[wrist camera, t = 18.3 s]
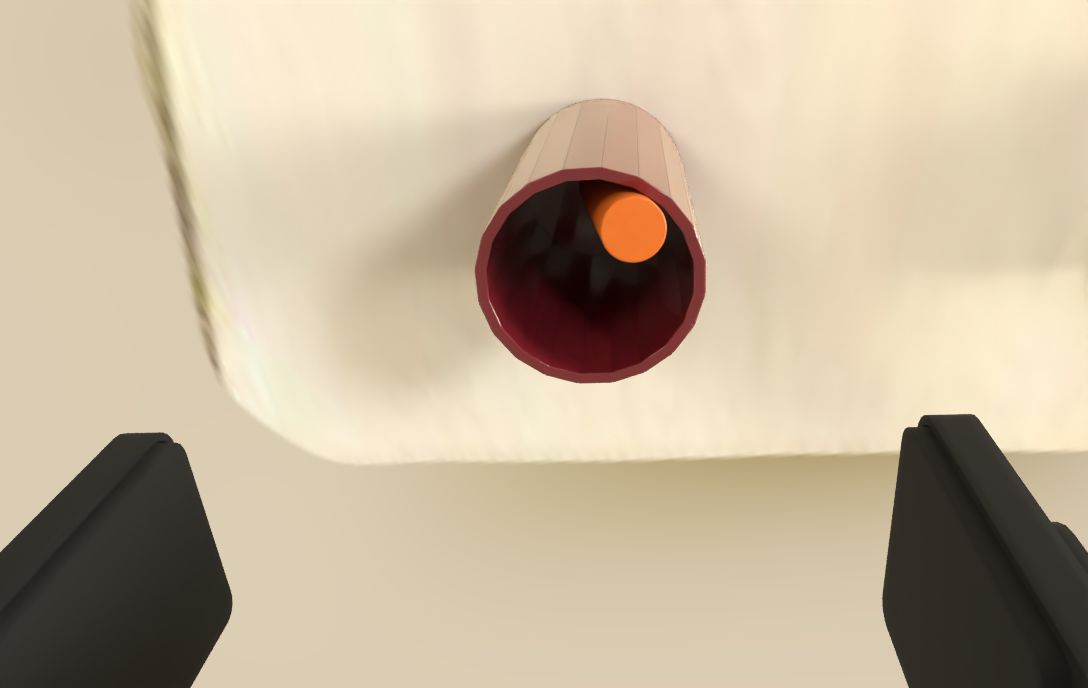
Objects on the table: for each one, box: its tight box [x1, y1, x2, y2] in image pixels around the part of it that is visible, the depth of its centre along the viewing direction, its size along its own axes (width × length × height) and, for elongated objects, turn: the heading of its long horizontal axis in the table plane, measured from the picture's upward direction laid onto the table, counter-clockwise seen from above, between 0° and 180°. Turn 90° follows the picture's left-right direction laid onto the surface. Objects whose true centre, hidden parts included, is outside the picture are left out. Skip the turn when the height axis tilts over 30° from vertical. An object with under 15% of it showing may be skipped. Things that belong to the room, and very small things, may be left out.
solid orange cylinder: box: [579, 179, 667, 263], centre depth 28 cm, size 2×2×12 cm
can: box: [475, 99, 706, 383], centre depth 30 cm, size 7×7×12 cm
